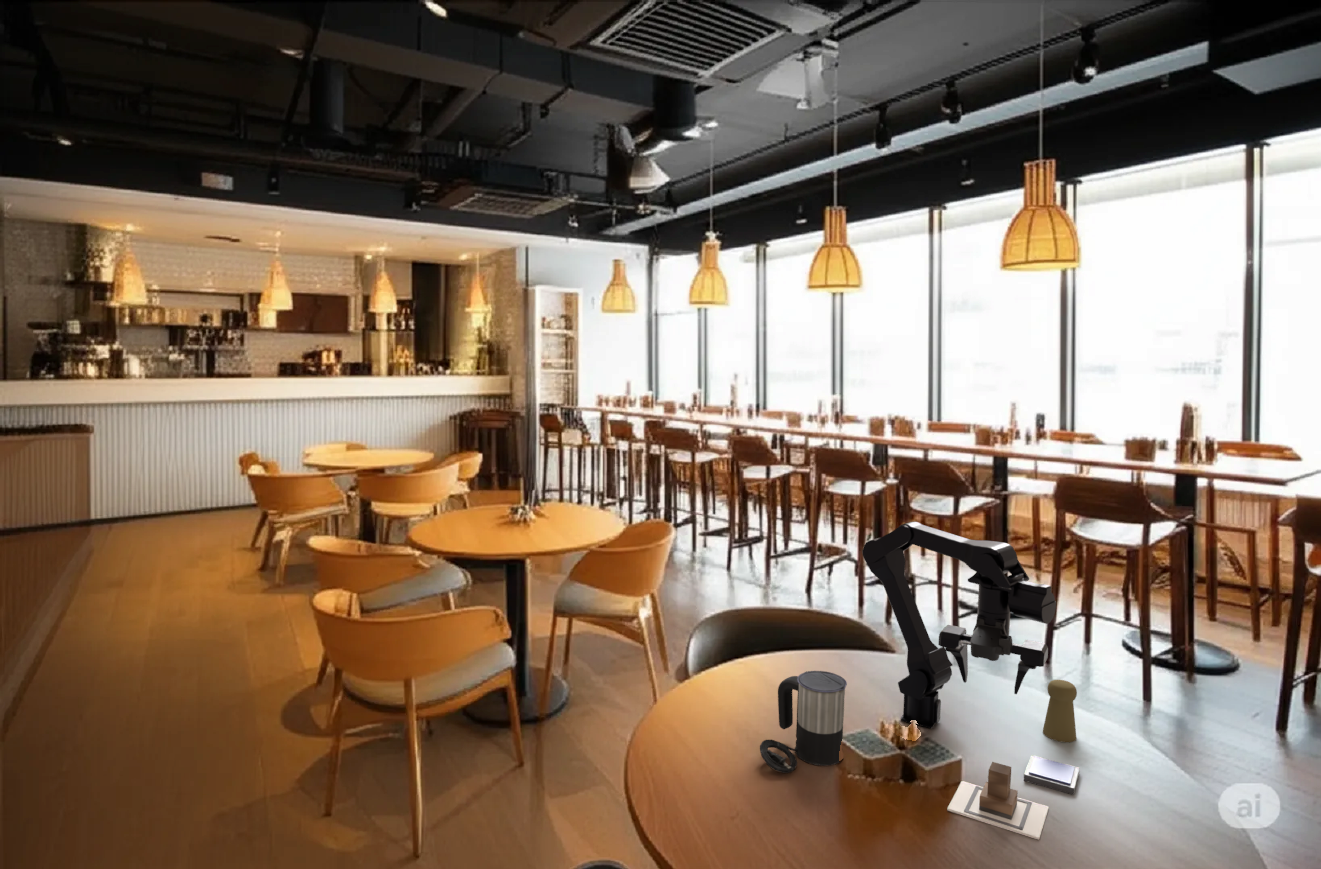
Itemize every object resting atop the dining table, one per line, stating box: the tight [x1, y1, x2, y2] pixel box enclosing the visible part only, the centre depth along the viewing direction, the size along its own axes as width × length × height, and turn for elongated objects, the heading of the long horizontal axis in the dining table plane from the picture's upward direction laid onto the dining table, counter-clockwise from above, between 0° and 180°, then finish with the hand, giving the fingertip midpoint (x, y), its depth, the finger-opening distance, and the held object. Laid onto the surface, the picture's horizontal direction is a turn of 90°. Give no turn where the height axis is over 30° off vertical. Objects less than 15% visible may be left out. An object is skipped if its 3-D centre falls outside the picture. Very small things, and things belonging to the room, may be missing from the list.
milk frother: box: [759, 670, 848, 774], centre depth 146 cm, size 14×16×15 cm
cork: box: [1042, 679, 1078, 743], centre depth 155 cm, size 6×6×11 cm
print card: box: [947, 780, 1050, 841], centre depth 131 cm, size 14×10×1 cm
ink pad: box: [1023, 754, 1080, 796], centre depth 140 cm, size 8×8×2 cm
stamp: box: [979, 761, 1019, 820], centre depth 130 cm, size 5×5×7 cm
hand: (990, 687), depth 150 cm, fingers open, 9 cm apart
